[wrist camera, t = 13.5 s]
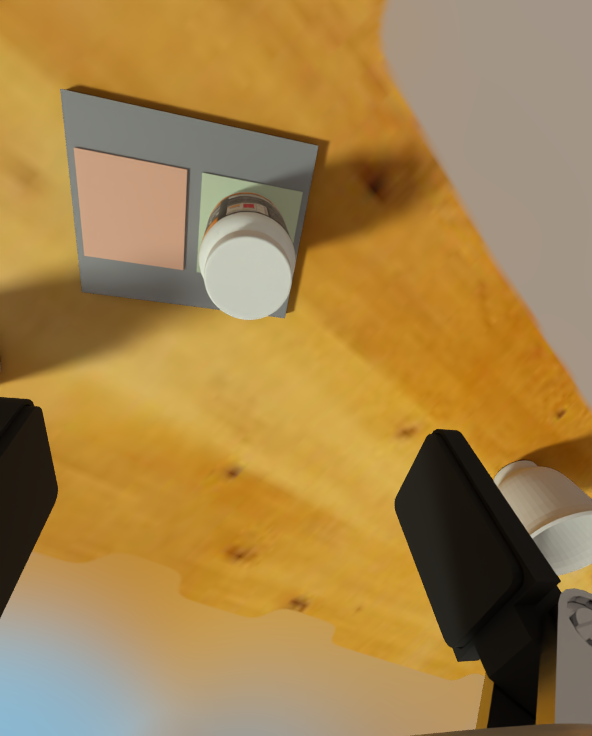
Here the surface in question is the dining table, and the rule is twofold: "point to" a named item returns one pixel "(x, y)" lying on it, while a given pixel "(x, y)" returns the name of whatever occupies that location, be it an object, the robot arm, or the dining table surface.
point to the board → (166, 193)
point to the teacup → (550, 513)
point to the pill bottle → (247, 256)
